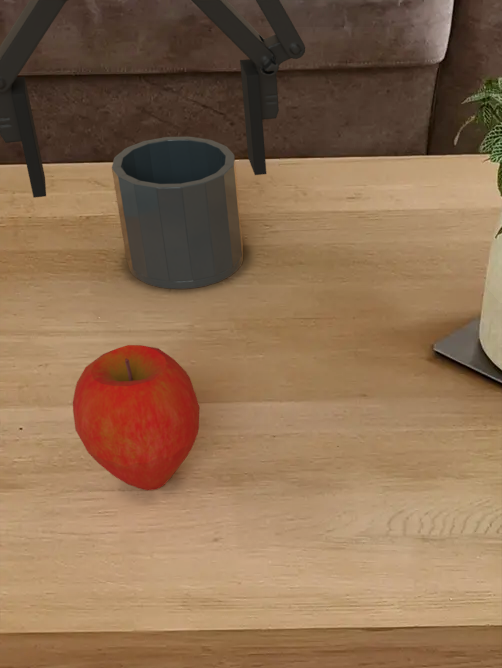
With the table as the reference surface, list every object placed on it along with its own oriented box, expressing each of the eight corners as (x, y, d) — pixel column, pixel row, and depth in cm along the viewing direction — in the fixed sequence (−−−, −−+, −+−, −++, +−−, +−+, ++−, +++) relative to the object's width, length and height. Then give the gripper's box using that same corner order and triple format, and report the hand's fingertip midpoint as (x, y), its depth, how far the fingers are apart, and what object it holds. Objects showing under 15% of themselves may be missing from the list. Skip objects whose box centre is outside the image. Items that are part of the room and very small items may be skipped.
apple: (95, 448, 87) (70, 325, 81) (210, 440, 88) (194, 319, 82) (82, 524, 81) (54, 397, 74) (207, 515, 82) (190, 390, 75)
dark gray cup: (107, 277, 107) (89, 176, 101) (161, 226, 115) (148, 129, 109) (213, 297, 105) (201, 195, 98) (261, 243, 113) (253, 146, 106)
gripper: (-169, -179, 55) (-60, 225, 68) (346, -193, 61) (355, 181, 74) (-153, -208, 61) (-55, 171, 74) (317, -218, 67) (330, 134, 80)
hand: (150, 177), depth 74 cm, fingers open, 13 cm apart
